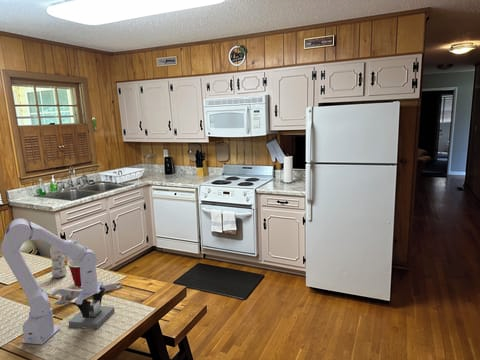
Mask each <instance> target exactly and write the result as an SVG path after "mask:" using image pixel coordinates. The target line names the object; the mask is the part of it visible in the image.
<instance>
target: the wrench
mask: <svg viewBox="0 0 480 360" xmlns="http://www.w3.org/2000/svg"><path fill="white" fill-rule="evenodd" d="M118 284H119V285H118ZM122 287H123V283H122V282H121V281H112V282H107V283H103V287H101V288H105V291H104V292H107V291H112V290H117V289H120V288H122ZM81 291H82V288H80V289H71V288H65V287H57V288H56V289H54V290H52V292H51V293H50V297H51V298H53V297H55V296H57V295H60V298H59V299H57V300H55V301H54V302H53V304H54V305H57V306H61V305H62V306H63V305H65V306H68V305H70V304H71V302H72V301H73V300H74V299H75V300H76V299H77V298H78V296H79V295H80V293H81Z"/></svg>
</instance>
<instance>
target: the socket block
mask: <svg viewBox="0 0 480 360" xmlns="http://www.w3.org/2000/svg"><path fill="white" fill-rule="evenodd" d="M100 311H101V313H100V314H99V315H98V316H96V317H95V318H84V317H83V315H82V313H81V311H80V310H79V312H78V313H77V314H75V315H74V316H73V317H72V318H70V320H69V321H68V326H69V327H72V326H73V327H75V328H82V327H85V329H93V328H96V329H95V330H98V329H99V328H100V327H101V326H103V324H104V323H105V322H106V321H107V320H108V319H109V318H110V317H111V316H112V315H113V314H114V313H115V312H114V311H115V307H114V306H107V305H101V306H100ZM113 312H114V313H113ZM106 319H107V320H106Z"/></svg>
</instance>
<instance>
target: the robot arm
mask: <svg viewBox="0 0 480 360" xmlns="http://www.w3.org/2000/svg"><path fill="white" fill-rule="evenodd" d="M28 240H30V241H36V240H41V241H43V242H45V243H48V244H49V245H51V246H52V245H53V246H56V247H58V248H59V249H60V253H61V254H63V255H64V257H65V256H66V257H68V258H70V260H72V259H73V260H75V261H80V276H81V286H82V287H81V289H82V291H81V293H80V295H79V296H78V297H77V298H75V302H74V305H75V306H76V307H77V308H78V309H79V312H80V311H81V313H82V315H83V317H84V318H88V317H89V308H90V303H91V301H89V300H88V298H89V297H91V296H92V300H100V306H102V300H103V296H104V293H105V292H106V291H105V288H101V287H103V284H104V281H98V274H97V272H98V271H97V267H96V263H97V261H98V257H97V256H96V255H97V254H95V253H94V251H93V250H92V249H91V248H90V247H88V246H86V245H85V246H84V245H82V244H79V243H78V241H77V240H76V239H73V240H72V239H63V238H61V237H60V236H58V235H56V234H54V233H53V232H51V231H49V230H48V229H46V228H44V227H43V226H41V225H38V224H37V223H35V222H32V221H30V222H29V221H28V220H27V219H26V218H22V217H21V218H15V219H13V220H12V221H11V222H10V223H9V224H8V226H7V227H6V228H5V233H4V237H3V241H2V245H1V249H0V250H1V255H2V256H3V259H4V260H5V262H6V263H7V265H8V267H9V269H10V270H11V272H12V274H13V276H14V277H15V279H16V281H17V282H18V284H19V286H20V287H21V289H22V291H23V293H24V294H25V297H26V299H27V302H28V303H29V309H30V310H29V313H28V318H27V320H26V321H24V323H23V325H22V333H23V334H22V335H23V340H22V343H24V344H32V345H33V344H34V345H43V344H44V343H45V342H46V341H48V340H49V339H51V337H53V336H54V334H57V332H58V331H59V330H60V329H61V327H58V326H55V322H54V314H53V307H52V304H51V301H50V299H49V293H48V292H47V291H45V290H44V289H42V287H41V286H40V285H39V283H38V282H37V280H36V277H35V275H34V273H33V272H32V271H31V269H30V267H29V265H28V263H27V261H26V259H25V258H24V256H23V254H22V253H21V251H20V250H21V248H22V246H23V245H24V243H26V242H27V241H28Z"/></svg>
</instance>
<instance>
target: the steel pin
mask: <svg viewBox="0 0 480 360" xmlns="http://www.w3.org/2000/svg"><path fill="white" fill-rule="evenodd" d="M88 301H91V303H90V308H89V317H88V318H95V317H96V316H98V315H99V314H100V313H101V311H100V300H93V299H89V300H88Z"/></svg>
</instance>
